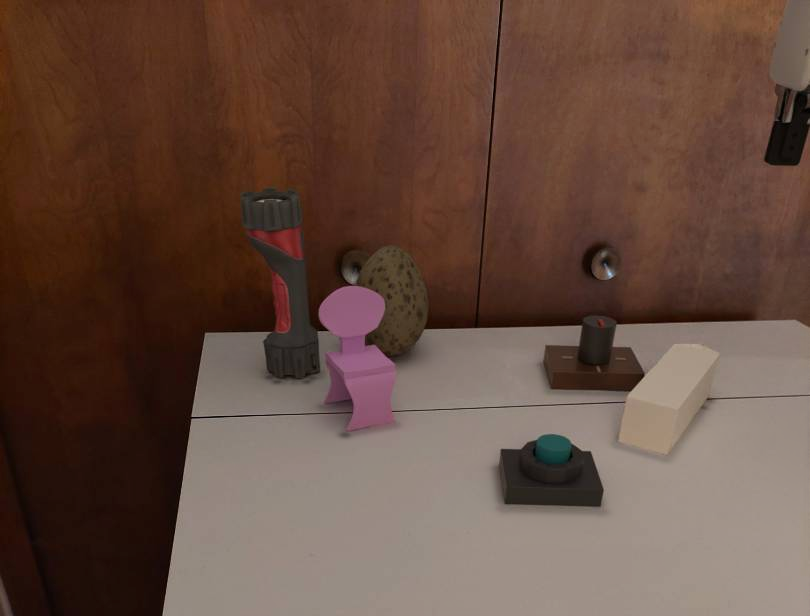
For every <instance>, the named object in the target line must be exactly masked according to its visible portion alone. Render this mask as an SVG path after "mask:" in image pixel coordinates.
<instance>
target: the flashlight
mask: <svg viewBox="0 0 810 616" xmlns="http://www.w3.org/2000/svg"><path fill="white" fill-rule="evenodd" d="M240 212H241V213H240V214H241V226H242V227H243V228H244V231H245V236H246V238H247V240H248V242H249V243H250V245H251V246H252V247H253V248H254V250H256V251H257V252H258V253H259V254H260V255H261V256H262V257H263V259H264V260H265V262H266V264H267V267H268V269H269V273H270V280H271V292H272V295H273V306H274V310H275V311H274V315H275V317H276V318H275V319H276V320H275V327H274V328H273V330H272V331H271V332H270V333H268V334H267V335H266V337H265V338H264V339H263V341H262V344H263V350H264V355H265V364H266V366H265V367H266V371H267V372H268V373H273V374H274V376H275V377H276V378H279V379H283V378H284V377H285V376H294V377H295V379H303V378H305V377H306V374H309V375H312V374H318V373H320V371H321V360H320V346H319V345H320V343H319V341H320V340H319V333H318V330H317V329H316V328H315V327H314V326H312V325H311V319H310V307H309V306H310V305H309V293H308V278H307V268H306V258H305V255H304V254H305V249H306V245H305V237H304V236H305V235H304V229H303V223H304V219H303V212H302V207H301V199H300V193H299V191H298V190H296V189H293V188H288V189H287V191H284V190H283V191H282V190H277V188H276V187H275V186H274V187H273V186H267V187H263V188H262V191H256V192H252V191H251V190H245V191H243V192H242V193H241V194H240Z"/></svg>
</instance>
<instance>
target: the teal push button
mask: <svg viewBox="0 0 810 616" xmlns="http://www.w3.org/2000/svg"><path fill="white" fill-rule="evenodd" d="M536 440H537V443H536V451H535V457H536V458H537V459H538V460H540V461H543V462H546V463H551V464H561V463H564V462H567V461H568V460H569V457H570V451H571V444H572V441H571V440H570V439H569V438H568V437H566V436H564V435H561V434H556V433H547V434H542V435H540V436H539V437H537V439H536Z"/></svg>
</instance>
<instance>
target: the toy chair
mask: <svg viewBox="0 0 810 616" xmlns="http://www.w3.org/2000/svg"><path fill="white" fill-rule="evenodd" d="M384 311H385V302H384V299H383V298H382V296H380V295H379V294H378V293H376V292H374V291H372V290H370V289H367V288H364V287H359V286H355V285H347V286H343V287H340V288H338V289H336V290H334V291H333V292H332V293H330V294H329V295H328V296H327V297H326V298H325V299H324V300H322V303H321V304H320V306H319V308H318V313H317V315H318V320H319V322H320V324H321V325H322V326H323V327H324V328H325V329H326V330H328V331H329V332H330V333H331V335H333V336H336V337H338V338H339V339H338V340H339V350H332V351H325V359H324V362H325V366H326V368H327V370H328V373H329V376H330V384H329V388H328V391H327V393H326V396H325V397H324V400H323V403H324V404H331V403H337V402H342V401H347V400H351V401H352V405H353V409H352V415H351V417H350V420H349V422H348V424H347V426H346V429H345V431H346V432H350V431H351V432H352V431H356V430H361V429H366V428H370V427H375V426H381V425H385V424H390V423H391V424H392V423H395V422H396V420H395V418H394V414H393V412H392V404H391V403H392V402H391V400H392V395H393V390H394V387H395V385H396V384H395V383H396V381H397V374H396V364H395V363H394V361H392V360H391V359H390V358H388V356H385V355H384V354H383V353H382V352H381V351H380V350H379V349H378V348H377V347H376V346H375V345H370V346H365V335H366V334H368V333H369V332H371V331H373V330H374V329H376V328H377V327H378V325H379V323H380V321H381V319H382V317H383V314H384Z"/></svg>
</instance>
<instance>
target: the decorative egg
mask: <svg viewBox="0 0 810 616" xmlns="http://www.w3.org/2000/svg"><path fill="white" fill-rule="evenodd" d="M354 286H359V287H364V288H367V289H370V290H372V291H374V292H376V293H378V294H379V295H380V296H382V298H383V299H384V302H385V311H384V314H383V317H382V319H381V321H380V323H379V325H378V327H377V328H376V329H374V330H373V331H371V332H369V333H368V334H366V335H365V346H370V345H375V346H376V347H377V348H378V349H379V350H380V351H381V352H382V353H383V354H384V355H385V356H386V357H396V356H398V355H400V354H401V355H402V354H404V353H406V352H407V351H410V350H411V349H412V348H413V347H414V346H415V345H416V344H417V342H418V341H419V340H420V339H421V337H422V335H423V333H424V332H425V329H426V325H427V323H428V322H427V321H428V316H429V300H428V293H427V288H426V284H425V281H424V277H423V276H422V274H421V272H420V270H419V268H418V266H417V264H416V262H415V261H414V259H413V258H412V257H411V256H410V254H409V253H407V252H406V251H405V250H404V249H403V248H401V247H399V246H396V245H386V246H383V247H381V248H379V249H378V250H377V251H375V252H374V253H373V254H372V255H371V256H370V257H369V258H368V259H367V261H366V262H365V263H364V264H363V266H362V268H361V269H360V272H359V274H358V276H357V278H356V280H355V283H354Z"/></svg>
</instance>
